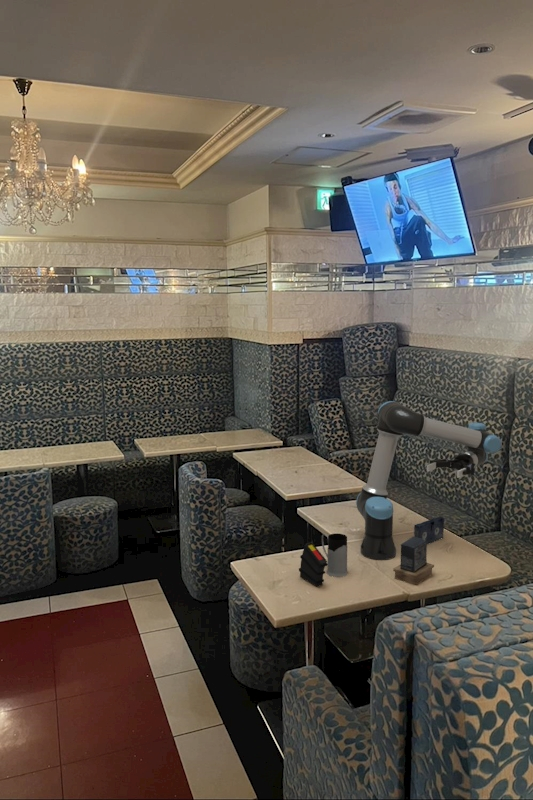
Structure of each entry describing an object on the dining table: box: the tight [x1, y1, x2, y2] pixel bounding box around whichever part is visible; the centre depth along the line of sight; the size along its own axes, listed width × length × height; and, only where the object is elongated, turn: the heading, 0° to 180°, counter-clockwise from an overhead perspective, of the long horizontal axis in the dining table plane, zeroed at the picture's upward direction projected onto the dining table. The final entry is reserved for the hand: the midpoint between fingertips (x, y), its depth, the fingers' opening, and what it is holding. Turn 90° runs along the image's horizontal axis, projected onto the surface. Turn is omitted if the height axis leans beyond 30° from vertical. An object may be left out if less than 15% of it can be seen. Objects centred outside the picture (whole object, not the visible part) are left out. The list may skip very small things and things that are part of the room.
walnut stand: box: [392, 562, 435, 586], centre depth 244 cm, size 10×14×4 cm
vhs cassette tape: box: [413, 516, 445, 545], centre depth 278 cm, size 18×3×10 cm, turn 126°
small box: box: [400, 536, 428, 573], centre depth 243 cm, size 11×6×10 cm, turn 139°
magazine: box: [298, 541, 328, 588], centre depth 239 cm, size 4×13×15 cm, turn 34°
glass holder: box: [321, 533, 349, 578], centre depth 249 cm, size 9×14×15 cm, turn 33°
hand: (442, 471), depth 256 cm, fingers open, 13 cm apart
